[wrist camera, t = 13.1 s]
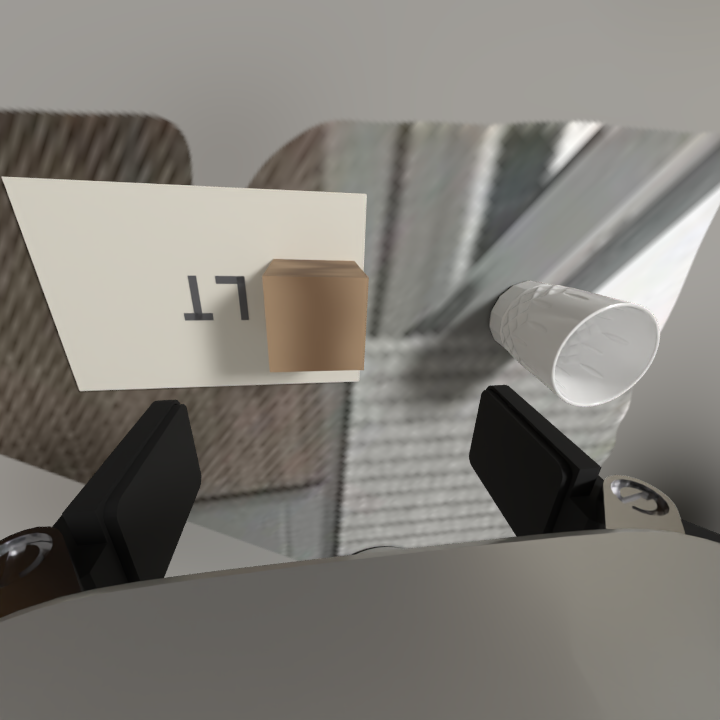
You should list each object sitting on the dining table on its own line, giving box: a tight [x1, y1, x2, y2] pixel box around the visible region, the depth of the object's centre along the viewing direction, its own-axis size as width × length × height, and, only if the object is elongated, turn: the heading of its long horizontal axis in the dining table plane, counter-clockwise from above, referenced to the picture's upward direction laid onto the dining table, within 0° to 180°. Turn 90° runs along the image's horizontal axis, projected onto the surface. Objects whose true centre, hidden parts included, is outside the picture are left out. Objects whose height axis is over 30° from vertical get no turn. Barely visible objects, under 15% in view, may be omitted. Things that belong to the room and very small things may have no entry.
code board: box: [2, 177, 367, 391], centre depth 27 cm, size 24×16×1 cm, turn 88°
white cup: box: [489, 280, 660, 407], centre depth 27 cm, size 8×8×10 cm
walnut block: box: [262, 259, 369, 372], centre depth 25 cm, size 6×6×7 cm
